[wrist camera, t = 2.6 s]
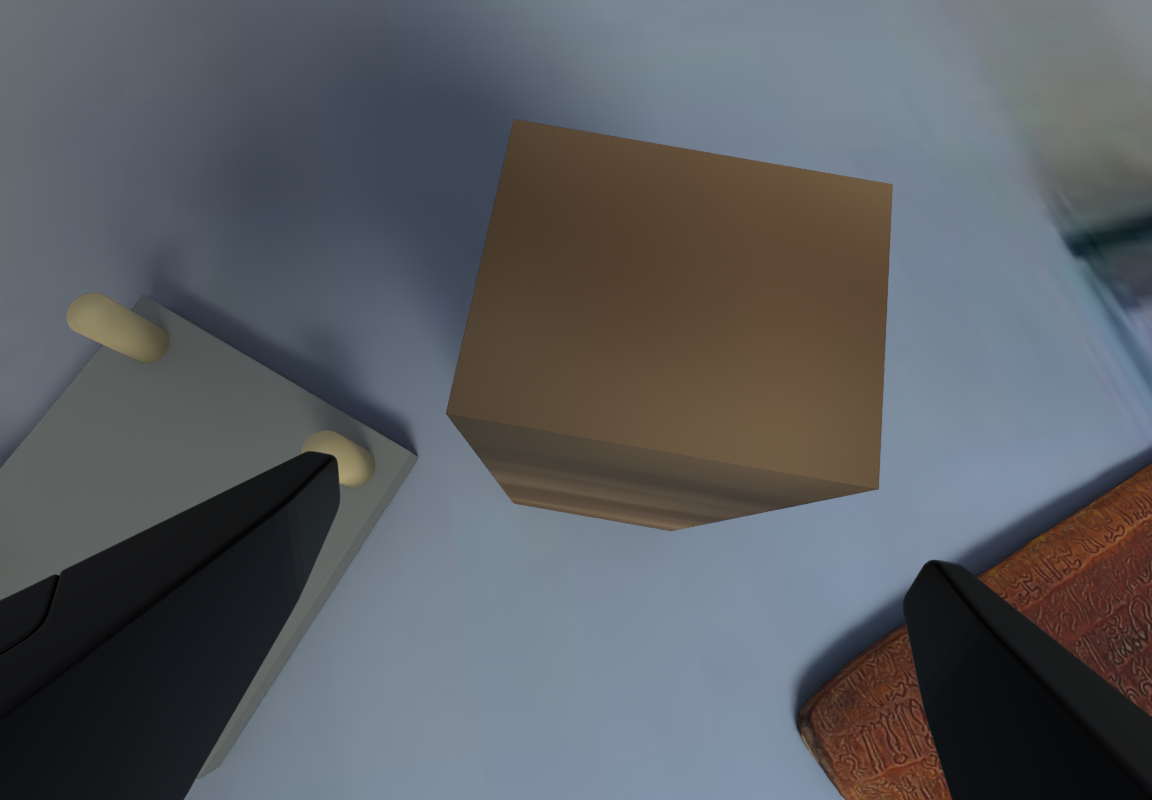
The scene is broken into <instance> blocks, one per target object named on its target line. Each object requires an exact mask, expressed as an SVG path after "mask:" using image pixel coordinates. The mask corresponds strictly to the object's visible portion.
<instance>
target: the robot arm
mask: <svg viewBox="0 0 1152 800" xmlns="http://www.w3.org/2000/svg"><path fill="white" fill-rule="evenodd" d="M339 505H340V484H339V470H338V461H337V459H336V457H335V456H333V455H332V454H326V453H321V452H315V451H307V452H304V453H302V454H300V455H298V456H296V457H294V458H292V459H290V460H288V461H285V462H283V463H281V464H279V465H277V466H275V467H273V468H271V469H269V470H267V471H265V472H263V473H261V474H259V475H257V476H255V477H253V478H251V479H249V480H247V481H244V482H242V483H240V484H238V485H236V486H234V487H232V488H230V489H228V490H226V491H224V492H222V493H220V494H218V495H216V496H214V497H212V498H210V499H208V500H205V501H203V502H201V503H199V504H197V505H195V506H193V507H191V508H189V509H187V510H185V511H183V512H181V513H179V514H177V515H175V516H173V517H171V518H169V519H167V520H164V521H162V522H160V523H158V524H156V525H154V526H152V527H150V528H148V529H146V530H144V531H142V532H140V533H138V534H136V535H134V536H132V537H130V538H128V539H126V540H123V541H121V542H119V543H117V544H115V545H113V546H111V547H109V548H107V549H105V550H103V551H101V552H99V553H97V554H95V555H93V556H91V557H89V558H87V559H84V560H82V561H80V562H78V563H76V564H74V565H72V566H70V567H68V568H66V569H64V570H62V571H61V573H60V575H57V574H54V575H51V576H49V577H47V578H45V579H43V580H41V581H39V582H37V583H35V584H33V585H31V586H29V587H27V588H25V589H23V590H21V591H18V592H16V593H14V594H12V595H10V596H8V597H6V598H3V599H1V600H0V800H184V798H185V797H186V795H187V793H188V791H189V790H190V788H191V786H192V784H193V783H194V781H195V779H196V778H197V776H198V774H199V772H200V771H201V769H202V767H203V765H204V764H205V762H206V760H207V759H208V757H209V755H210V753H211V752H212V750H213V748H214V746H215V745H216V743H217V741H218V740H219V738H220V736H221V734H222V733H223V731H224V729H225V727H226V726H227V724H228V722H229V721H230V719H231V717H232V715H233V714H234V712H235V710H236V708H237V707H238V705H239V703H240V701H241V700H242V698H243V696H244V695H245V693H246V691H247V689H248V688H249V686H250V684H251V682H252V681H253V679H254V677H255V676H256V674H257V672H258V670H259V669H260V667H261V665H262V663H263V662H264V660H265V658H266V657H267V655H268V653H269V651H270V650H271V648H272V646H273V644H274V643H275V641H276V639H277V638H278V636H279V634H280V632H281V631H282V629H283V627H284V625H285V624H286V622H287V620H288V618H289V617H290V615H291V613H292V611H293V610H294V608H295V606H296V604H297V602H298V600H299V598H300V596H301V594H302V592H303V590H304V588H305V585H306V583H307V581H308V579H309V576H310V574H311V572H312V569H313V567H314V565H315V563H316V560H317V558H318V556H319V553H320V551H321V549H322V546H323V544H324V542H325V540H326V537H327V535H328V533H329V530H330V528H331V526H332V523H333V521H334V519H335V517H336V514H337V512H338V509H339ZM903 613H904V618H905V623H906V628H907V633H908V638H909V642H910V647H911V652H912V657H913V662H914V667H915V672H916V677H917V682H918V687H919V691H920V696H921V700H922V704H923V708H924V712H925V716H926V719H927V723H928V726H929V729H930V733H931V736H932V739H933V742H934V745H935V748H936V752H937V755H938V758H939V761H940V764H941V767H942V771H943V774H944V777H945V780H946V783H947V787H948V790H949V793H950V796H951V799H952V800H1152V717H1151V716H1150V715H1149V714H1147V713H1146V712H1145V711H1144V710H1142V709H1141V708H1140V707H1139V706H1137V705H1136V704H1135V703H1134V702H1132V701H1131V700H1130V699H1129V698H1127V697H1126V696H1125V695H1124V694H1122V693H1121V692H1120V691H1118V690H1117V689H1116V688H1115V687H1113V686H1112V685H1111V684H1110V683H1108V682H1107V681H1106V680H1105V679H1103V678H1102V677H1101V676H1100V675H1098V674H1097V673H1096V672H1095V671H1093V670H1092V669H1091V668H1090V667H1088V666H1087V665H1086V664H1085V663H1083V662H1082V661H1081V660H1080V659H1078V658H1077V657H1076V656H1075V655H1073V654H1072V653H1071V652H1070V651H1068V650H1067V649H1066V648H1065V647H1063V646H1062V645H1061V644H1060V643H1058V642H1057V641H1056V640H1054V639H1053V638H1052V637H1051V636H1049V635H1048V634H1047V633H1046V632H1044V631H1043V630H1042V629H1041V628H1039V627H1038V626H1037V625H1036V624H1034V623H1033V622H1032V621H1031V620H1029V619H1028V618H1027V617H1026V616H1024V615H1023V614H1022V613H1021V612H1019V611H1018V610H1017V609H1016V608H1014V607H1013V606H1012V605H1011V604H1009V603H1008V602H1007V601H1006V600H1004V599H1003V598H1002V597H1001V596H999V595H998V594H997V593H996V592H994V591H993V590H992V589H991V588H989V587H988V586H987V585H985V584H984V583H983V582H982V581H980V580H979V579H978V578H977V577H975V576H974V575H973V574H972V573H970V572H969V571H968V570H967V569H965V568H964V567H963V566H961V565H959V564H956V563H951V562H946V561H940V560H930V561H928V562H927V563H925V565H924V566H923V567H922V569H921V571H920V572H919V574H918V576H917V577H916V579H915V580H914V582H913V584H912V585H911V587H910V588H909V590H908V592H907V593H906V595H905V598H904V602H903Z"/></svg>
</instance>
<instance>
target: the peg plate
mask: <svg viewBox="0 0 1152 800" xmlns="http://www.w3.org/2000/svg"><path fill="white" fill-rule="evenodd" d="M66 319H67V323H68V325H69V327H70V328H71V329H72V330H73V331H75V332H77V333H79V334H81V335H83V336H85V337H87V338H90V339H92V340H94V341H96V342H98V343H100V344H102V346H101V347H100V348H99V350H98V351H97V352H96V353H95V355H94V356H93V357H92V358H91V359H90V361H89V362H88V363H87V364H86V365H85V367H84V368H83V369H82V370H81V371H80V373H79V374H78V375H77V376H76V378H75V379H74V380H73V381H72V382H71V384H70V385H69V386H68V387H67V388H66V390H65V391H64V392H63V393H62V394H61V396H60V397H59V398H58V399H57V400H56V402H55V403H54V404H53V405H52V407H51V408H50V409H49V410H48V411H47V413H46V414H45V415H44V416H43V417H42V419H41V420H40V421H39V422H38V423H37V425H36V426H35V427H34V428H33V430H32V431H31V432H30V433H29V434H28V436H27V437H26V438H25V439H24V440H23V442H22V443H21V444H20V445H19V446H18V448H17V449H16V450H15V451H14V453H13V454H12V455H11V456H10V457H9V459H8V460H7V461H6V462H5V463H4V465H3V466H2V467H1V468H0V600H1V599H3V598H6V597H8V596H10V595H12V594H14V593H16V592H18V591H21V590H23V589H25V588H27V587H29V586H31V585H33V584H35V583H37V582H39V581H41V580H43V579H45V578H47V577H49V576H51V575H54V574H57V575H60V573H61V571H62V570H64V569H66V568H68V567H70V566H72V565H74V564H76V563H78V562H80V561H82V560H84V559H87V558H89V557H91V556H93V555H95V554H97V553H99V552H101V551H103V550H105V549H107V548H109V547H111V546H113V545H115V544H117V543H119V542H121V541H123V540H126V539H128V538H130V537H132V536H134V535H136V534H138V533H140V532H142V531H144V530H146V529H148V528H150V527H152V526H154V525H156V524H158V523H160V522H162V521H164V520H167V519H169V518H171V517H173V516H175V515H177V514H179V513H181V512H183V511H185V510H187V509H189V508H191V507H193V506H195V505H197V504H199V503H201V502H203V501H205V500H208V499H210V498H212V497H214V496H216V495H218V494H220V493H222V492H224V491H226V490H228V489H230V488H232V487H234V486H236V485H238V484H240V483H242V482H244V481H247V480H249V479H251V478H253V477H255V476H257V475H259V474H261V473H263V472H265V471H267V470H269V469H271V468H273V467H275V466H277V465H279V464H281V463H283V462H285V461H288V460H290V459H292V458H294V457H296V456H298V455H300V454H302V453H304V452H307V451H315V452H321V453H326V454H332V455H333V456H335V457H336V459H337V461H338V470H339V484H340V505H339V509H338V512H337V514H336V517H335V519H334V521H333V523H332V526H331V528H330V530H329V533H328V535H327V537H326V540H325V542H324V544H323V546H322V549H321V551H320V553H319V556H318V558H317V560H316V563H315V565H314V567H313V569H312V572H311V574H310V576H309V579H308V581H307V583H306V585H305V588H304V590H303V592H302V594H301V596H300V598H299V600H298V602H297V604H296V606H295V608H294V610H293V611H292V613H291V615H290V617H289V618H288V620H287V622H286V624H285V625H284V627H283V629H282V631H281V632H280V634H279V636H278V638H277V639H276V641H275V643H274V644H273V646H272V648H271V650H270V651H269V653H268V655H267V657H266V658H265V660H264V662H263V663H262V665H261V667H260V669H259V670H258V672H257V674H256V676H255V677H254V679H253V681H252V682H251V684H250V686H249V688H248V689H247V691H246V693H245V695H244V696H243V698H242V700H241V701H240V703H239V705H238V707H237V708H236V710H235V712H234V714H233V715H232V717H231V719H230V721H229V722H228V724H227V726H226V727H225V729H224V731H223V733H222V734H221V736H220V738H219V740H218V741H217V743H216V745H215V746H214V748H213V750H212V752H211V753H210V755H209V757H208V759H207V760H206V762H205V764H204V765H203V767H202V769H201V771H200V772H199V774H198V776H197V779H200V778H202V777H203V776H205V775H207V774H208V773H210V772H211V771H213V770H214V769H216V768H218V767H219V766H220V764H221V763H222V761H223V760H224V758H225V756H226V755H227V753H228V752H229V750H230V749H231V747H232V746H233V744H234V743H235V741H236V739H237V738H238V736H239V735H240V733H241V732H242V730H243V729H244V727H245V725H246V724H247V722H248V721H249V719H250V718H251V716H252V715H253V713H254V712H255V710H256V708H257V707H258V705H259V704H260V702H261V701H262V699H263V698H264V696H265V694H266V693H267V691H268V690H269V688H270V687H271V685H272V684H273V682H274V681H275V679H276V677H277V676H278V674H279V673H280V671H281V670H282V668H283V667H284V665H285V664H286V662H287V660H288V659H289V657H290V656H291V654H292V653H293V651H294V650H295V648H296V646H297V645H298V643H299V642H300V640H301V639H302V637H303V636H304V634H305V633H306V631H307V629H308V628H309V626H310V625H311V623H312V622H313V620H314V619H315V617H316V616H317V614H318V612H319V611H320V609H321V608H322V606H323V605H324V603H325V602H326V600H327V598H328V597H329V595H330V594H331V592H332V591H333V589H334V588H335V586H336V585H337V583H338V581H339V580H340V578H341V577H342V575H343V574H344V572H345V571H346V569H347V567H348V566H349V564H350V563H351V561H352V560H353V558H354V557H355V555H356V554H357V552H358V550H359V549H360V547H361V546H362V544H363V543H364V541H365V540H366V538H367V537H368V535H369V533H370V532H371V530H372V529H373V527H374V526H375V524H376V523H377V521H378V519H379V518H380V516H381V515H382V513H383V512H384V510H385V509H386V507H387V506H388V504H389V502H390V501H391V499H392V498H393V496H394V495H395V493H396V492H397V490H398V488H399V487H400V485H401V484H402V482H403V481H404V479H405V478H406V476H407V475H408V473H409V471H410V470H411V468H412V467H413V465H414V464H415V462H416V461H417V459H418V458H419V457H417V456H416V455H414V454H413V453H412V452H410V451H408V450H407V449H405V448H403V447H402V446H400V445H398V444H396V443H395V442H393V441H391V440H390V439H388V438H386V437H384V436H383V435H381V434H379V433H378V432H376V431H374V430H373V429H371V428H369V427H367V426H366V425H364V424H362V423H361V422H359V421H357V420H356V419H354V418H352V417H350V416H349V415H347V414H345V413H344V412H342V411H340V410H339V409H337V408H335V407H333V406H332V405H330V404H328V403H327V402H325V401H323V400H322V399H320V398H318V397H316V396H315V395H313V394H311V393H310V392H308V391H306V390H304V389H303V388H301V387H299V386H298V385H296V384H294V383H293V382H291V381H289V380H287V379H286V378H284V377H282V376H281V375H279V374H277V373H276V372H274V371H272V370H270V369H269V368H267V367H265V366H264V365H262V364H260V363H259V362H257V361H255V360H253V359H252V358H250V357H248V356H247V355H245V354H243V353H242V352H240V351H238V350H236V349H235V348H233V347H231V346H230V345H228V344H226V343H224V342H223V341H221V340H219V339H218V338H216V337H214V336H213V335H211V334H209V333H207V332H206V331H204V330H202V329H201V328H199V327H197V326H196V325H194V324H192V323H190V322H189V321H187V320H185V319H184V318H182V317H180V316H179V315H177V314H175V313H173V312H172V311H170V310H168V309H167V308H165V307H163V306H162V305H160V304H158V303H156V302H155V301H153V300H151V299H150V298H148V297H146V296H144V295H143V296H142V298H141V299H140V300H139V301H138V302H137V304H136V305H135V306H134V307H133V309H132V310H129V309H127V308H126V307H124V306H122V305H120V304H119V303H117V302H115V301H114V300H112V299H110V298H108V297H107V296H105V295H103V294H100V293H87V294H84V295H82V296H80V297H78V298H77V299H75V300H74V301H73V302H72V304H71V305H70V306H69V308H68V311H67V315H66Z"/></svg>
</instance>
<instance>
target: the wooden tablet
mask: <svg viewBox="0 0 1152 800" xmlns="http://www.w3.org/2000/svg"><path fill="white" fill-rule="evenodd" d="M977 578H978V579H979V580H980V581H982V582H983V583H984V584H985V585H987V586H988V587H989V588H991V589H992V590H993V591H994V592H996V593H997V594H998V595H999V596H1001V597H1002V598H1003V599H1004V600H1006V601H1007V602H1008V603H1009V604H1011V605H1012V606H1013V607H1014V608H1016V609H1017V610H1018V611H1019V612H1021V613H1022V614H1023V615H1024V616H1026V617H1027V618H1028V619H1029V620H1031V621H1032V622H1033V623H1034V624H1036V625H1037V626H1038V627H1039V628H1041V629H1042V630H1043V631H1044V632H1046V633H1047V634H1048V635H1049V636H1051V637H1052V638H1053V639H1054V640H1056V641H1057V642H1058V643H1060V644H1061V645H1062V646H1063V647H1065V648H1066V649H1067V650H1068V651H1070V652H1071V653H1072V654H1073V655H1075V656H1076V657H1077V658H1078V659H1080V660H1081V661H1082V662H1083V663H1085V664H1086V665H1087V666H1088V667H1090V668H1091V669H1092V670H1093V671H1095V672H1096V673H1097V674H1098V675H1100V676H1101V677H1102V678H1103V679H1105V680H1106V681H1107V682H1108V683H1110V684H1111V685H1112V686H1113V687H1115V688H1116V689H1117V690H1118V691H1120V692H1121V693H1122V694H1124V695H1125V696H1126V697H1127V698H1129V699H1130V700H1131V701H1132V702H1134V703H1135V704H1136V705H1137V706H1139V707H1140V708H1141V709H1142V710H1144V711H1145V712H1146V713H1147V714H1149V715H1150V716H1151V717H1152V463H1151V464H1150V465H1148V466H1147V467H1145V468H1144V469H1142V470H1140V471H1139V472H1137V473H1135V474H1134V475H1132V476H1131V477H1130V478H1129V479H1127V480H1126V481H1124V482H1123V483H1121V484H1120V485H1118V486H1117V487H1115V488H1113V489H1112V490H1110V491H1109V492H1107V493H1105V494H1104V495H1102V496H1101V497H1099V498H1097V499H1096V500H1094V501H1093V502H1091V503H1090V504H1089V505H1087V506H1086V507H1084V508H1082V509H1081V510H1079V511H1078V512H1076V513H1075V514H1073V515H1072V516H1070V517H1068V518H1067V519H1065V520H1063V521H1062V522H1060V523H1059V524H1057V525H1056V526H1054V527H1052V528H1051V529H1049V530H1047V531H1046V532H1044V533H1042V534H1040V535H1039V536H1037V537H1035V538H1034V539H1032V540H1031V541H1029V542H1028V543H1027V544H1026V545H1025V546H1024V547H1022V548H1021V549H1019V550H1018V551H1016V552H1015V553H1013V554H1012V555H1010V556H1009V557H1007V558H1006V559H1004V560H1003V561H1001V562H1000V563H998V564H996V565H995V566H993V567H991V568H990V569H988V570H986V571H985V572H983V573H982V574H980V575H979V576H977ZM798 728H799V732H800V735H801V737H802V739H803V741H804V743H805V746H806V747H807V749H808V750H809V752H810V753H811V755H812V756H813V757H814V759H815V760H816V761H817V762H818V764H819V765H820V766H821V768H822V769H823V770H824V772H825V773H826V775H827V776H828V778H829V780H830V781H831V782H832V783H833V785H834V786H835V787H836V789H837V790H838V791H839V793H840V795H841V796H842V797H843V798H844V799H845V800H952V799H951V796H950V793H949V790H948V787H947V783H946V780H945V777H944V774H943V771H942V767H941V764H940V761H939V758H938V755H937V752H936V748H935V745H934V742H933V739H932V736H931V733H930V729H929V726H928V723H927V719H926V716H925V712H924V708H923V704H922V700H921V696H920V691H919V687H918V682H917V677H916V672H915V667H914V662H913V657H912V652H911V647H910V642H909V638H908V633H907V628H906V623H905V624H904V625H902V626H901V627H899V628H897V629H895V630H894V631H892V632H891V633H889V634H888V635H886V636H885V637H883V638H882V639H880V640H878V641H877V642H875V643H874V644H872V645H871V646H869V647H868V648H867V649H866V650H865V651H863V652H862V653H860V654H859V655H858V656H856V657H855V658H853V659H852V660H851V661H849V662H848V663H847V664H845V665H844V666H843V668H842V669H841V670H840V671H839V672H837V673H836V674H835V675H834V676H833V677H832V678H831V679H830V680H829V681H828V682H826V683H825V684H824V685H822V686H821V687H820V689H819V690H818V691H817V692H816V693H814V695H813V696H812V697H811V698H810V700H808V701H807V702H806V703H805V705H804V706H803V707H802V709H801V710H800V714H799V725H798Z"/></svg>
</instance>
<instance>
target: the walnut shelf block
mask: <svg viewBox="0 0 1152 800" xmlns="http://www.w3.org/2000/svg"><path fill="white" fill-rule="evenodd" d="M892 186H893V184H888V183H882V182H876V181H870V180H864V179H859V178H853V177H847V176H841V175H835V174H830V173H824V172H818V171H812V170H806V169H801V168H795V167H789V166H783V165H777V164H771V163H766V162H760V161H754V160H748V159H742V158H737V157H731V156H725V155H719V154H713V153H708V152H702V151H696V150H690V149H684V148H678V147H673V146H667V145H661V144H655V143H649V142H644V141H638V140H632V139H626V138H620V137H615V136H609V135H603V134H597V133H591V132H585V131H580V130H574V129H568V128H562V127H556V126H551V125H545V124H539V123H533V122H527V121H522V120H516V119H514V120H513V124H512V129H511V133H510V137H509V142H508V146H507V150H506V155H505V159H504V163H503V168H502V172H501V176H500V181H499V185H498V189H497V194H496V198H495V202H494V207H493V211H492V215H491V220H490V224H489V228H488V233H487V237H486V241H485V246H484V250H483V254H482V259H481V263H480V267H479V272H478V276H477V280H476V285H475V289H474V293H473V298H472V302H471V307H470V311H469V315H468V320H467V324H466V328H465V333H464V337H463V341H462V346H461V350H460V354H459V359H458V363H457V367H456V372H455V376H454V380H453V385H452V389H451V393H450V398H449V402H448V406H447V411H446V414H447V416H448V417H449V418H450V420H451V421H452V422H453V424H454V425H455V426H456V428H457V429H458V430H459V432H460V433H461V434H462V436H463V437H464V438H465V439H466V441H467V442H468V443H469V445H470V446H471V447H472V449H473V450H474V451H475V453H476V454H477V455H478V457H479V458H480V459H481V461H482V462H483V463H484V465H485V466H486V467H487V469H488V470H489V471H490V473H491V474H492V475H493V477H494V478H495V479H496V481H497V482H498V483H499V485H500V486H501V487H502V489H503V490H504V491H505V493H506V494H507V495H508V497H509V498H510V499H511V501H512V502H513V503H515V504H520V505H526V506H532V507H537V508H543V509H549V510H554V511H560V512H566V513H571V514H577V515H583V516H588V517H594V518H600V519H606V520H611V521H617V522H623V523H628V524H634V525H640V526H645V527H651V528H657V529H662V530H668V531H674V530H679V529H684V528H689V527H694V526H699V525H704V524H709V523H714V522H719V521H724V520H729V519H734V518H739V517H744V516H749V515H754V514H758V513H763V512H768V511H773V510H778V509H783V508H788V507H793V506H798V505H803V504H808V503H813V502H818V501H823V500H828V499H833V498H838V497H843V496H848V495H853V494H857V493H862V492H867V491H872V490H877V489H879V472H880V450H881V428H882V406H883V384H884V362H885V340H886V318H887V296H888V274H889V252H890V230H891V208H892Z"/></svg>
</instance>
